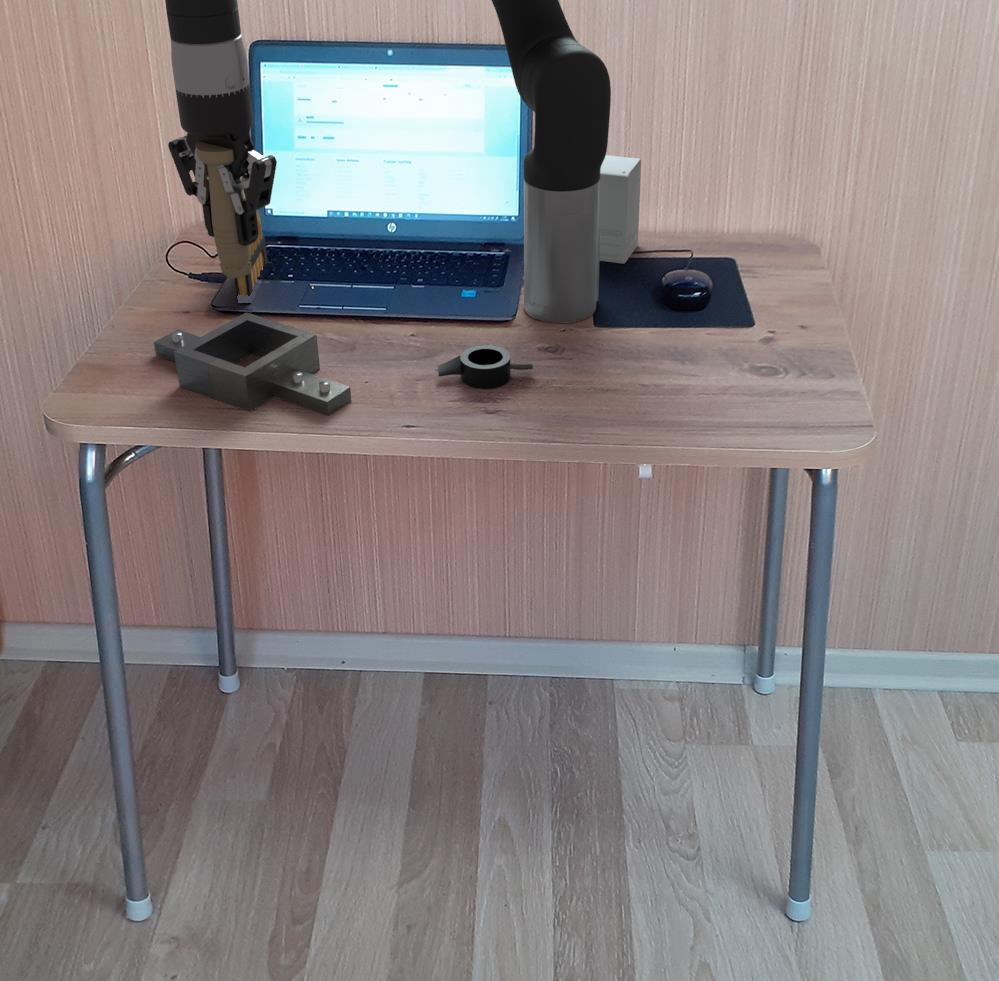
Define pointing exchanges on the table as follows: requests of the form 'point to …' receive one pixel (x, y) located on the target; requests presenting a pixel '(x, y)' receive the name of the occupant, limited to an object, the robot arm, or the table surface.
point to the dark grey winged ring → (482, 367)
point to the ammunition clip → (253, 263)
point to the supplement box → (619, 207)
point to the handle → (224, 213)
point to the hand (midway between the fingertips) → (232, 238)
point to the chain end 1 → (215, 349)
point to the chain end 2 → (280, 376)
